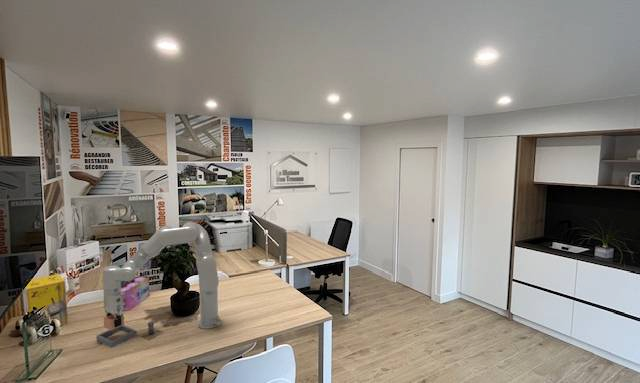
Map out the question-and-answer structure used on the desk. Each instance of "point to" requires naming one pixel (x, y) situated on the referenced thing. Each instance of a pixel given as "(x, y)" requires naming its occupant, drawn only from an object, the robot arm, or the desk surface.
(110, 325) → the ring
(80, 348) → the desk surface
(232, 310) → the desk surface
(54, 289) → the packaging box
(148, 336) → the board
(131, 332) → the tray
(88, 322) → the desk surface
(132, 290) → the gum box
